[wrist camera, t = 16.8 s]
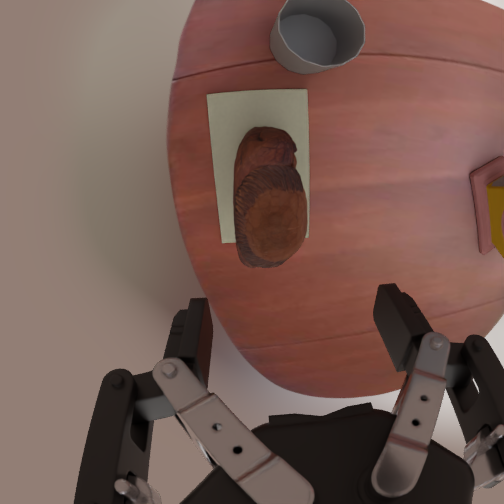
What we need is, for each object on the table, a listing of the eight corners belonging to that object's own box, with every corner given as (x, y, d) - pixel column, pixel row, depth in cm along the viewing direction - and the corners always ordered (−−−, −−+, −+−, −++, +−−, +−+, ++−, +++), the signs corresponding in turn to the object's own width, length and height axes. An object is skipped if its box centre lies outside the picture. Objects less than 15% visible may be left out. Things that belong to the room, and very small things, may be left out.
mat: (207, 94, 33) (206, 94, 32) (305, 89, 33) (307, 89, 32) (222, 240, 43) (222, 243, 42) (307, 234, 42) (308, 237, 42)
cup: (349, 45, 30) (381, 32, 21) (308, 87, 33) (330, 84, 24) (297, 3, 27) (314, -25, 18) (255, 45, 30) (258, 26, 21)
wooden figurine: (287, 211, 40) (314, 295, 24) (238, 212, 40) (234, 297, 24) (289, 122, 34) (327, 144, 18) (235, 122, 34) (227, 144, 18)
